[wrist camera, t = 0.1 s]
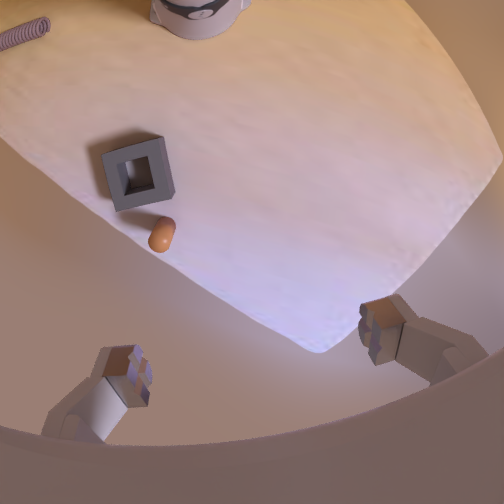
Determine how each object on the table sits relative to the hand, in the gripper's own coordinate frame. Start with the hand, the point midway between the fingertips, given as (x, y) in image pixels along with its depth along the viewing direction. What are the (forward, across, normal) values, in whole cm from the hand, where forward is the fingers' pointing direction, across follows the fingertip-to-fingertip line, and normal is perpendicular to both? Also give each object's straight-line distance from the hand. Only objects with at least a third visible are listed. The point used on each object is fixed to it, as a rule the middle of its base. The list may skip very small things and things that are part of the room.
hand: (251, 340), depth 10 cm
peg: (+48, +14, +11) cm, 51 cm away
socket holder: (+48, +16, -1) cm, 51 cm away
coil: (+48, +40, -41) cm, 75 cm away
